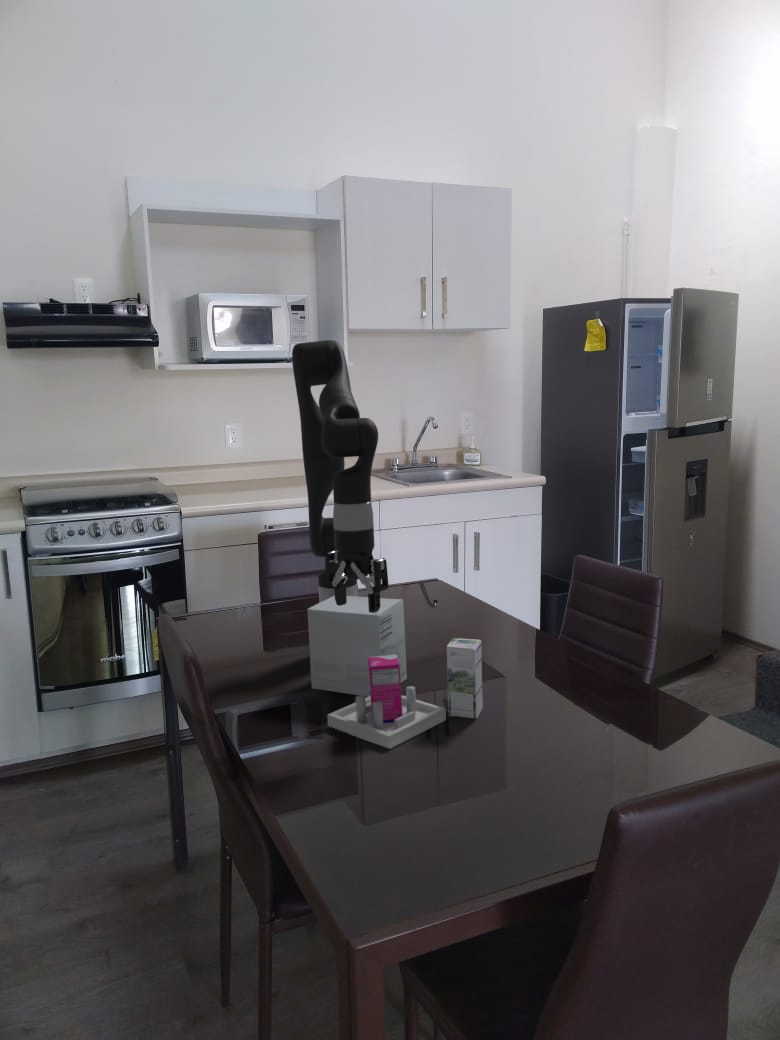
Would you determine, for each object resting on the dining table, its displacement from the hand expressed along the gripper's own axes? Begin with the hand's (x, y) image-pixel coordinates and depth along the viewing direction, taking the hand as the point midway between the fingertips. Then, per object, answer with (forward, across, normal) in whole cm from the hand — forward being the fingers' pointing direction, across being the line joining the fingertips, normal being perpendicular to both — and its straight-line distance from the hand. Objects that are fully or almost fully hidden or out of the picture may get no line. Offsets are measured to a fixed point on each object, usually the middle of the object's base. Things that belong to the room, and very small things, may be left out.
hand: (357, 608), depth 160 cm
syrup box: (+22, -16, -13) cm, 30 cm away
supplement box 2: (+21, -6, 0) cm, 22 cm away
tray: (+22, -6, 0) cm, 23 cm away
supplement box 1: (+23, +12, -12) cm, 29 cm away
